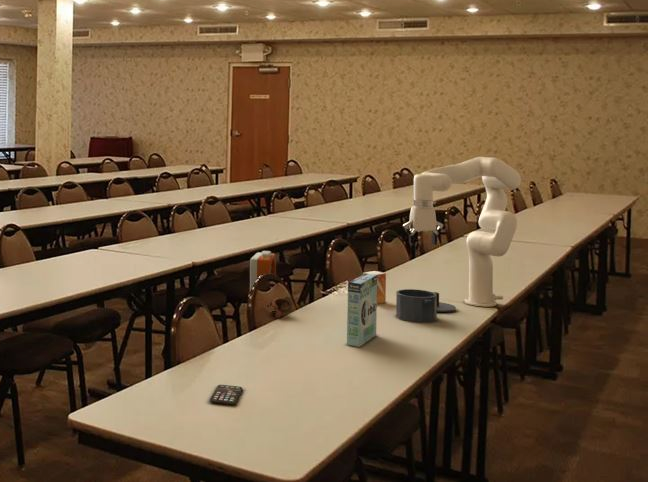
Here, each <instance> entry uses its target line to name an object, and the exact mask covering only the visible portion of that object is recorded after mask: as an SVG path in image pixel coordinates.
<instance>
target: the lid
mask: <svg viewBox="0 0 648 482" xmlns="http://www.w3.org/2000/svg"><path fill="white" fill-rule="evenodd" d="M432 292H433V293H435V294H436V295H437V313H449V312H454V311H456V310H457V306H455V305H453V304H451V303H447V302H441V301H440V293H439V292H437V291H432Z"/></svg>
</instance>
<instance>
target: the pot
mask: <svg viewBox="0 0 648 482" xmlns="http://www.w3.org/2000/svg"><path fill="white" fill-rule="evenodd" d="M433 292H434V291H430V290H423V289H415V288H413V289H412V288H408V289H407V288H404V289H398V290H397V291H396V292H395V295H396V297H395V298H396V299H395V300H396V302H395V304H396V305H395V309H396V310H395V314H396V318H397V319H399V320H402V321H404V322H405V321H406V322H412V323H425V324H426V323H433V322H436V321H437V319H438V317H437V316H438V314H437V313H438V312H437V295H436V294H435V293H433Z"/></svg>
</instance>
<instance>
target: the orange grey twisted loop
mask: <svg viewBox="0 0 648 482" xmlns="http://www.w3.org/2000/svg"><path fill="white" fill-rule="evenodd" d="M270 301H271V303H270V306H271V305H272V307H273V308H274V310H275V311H272V312H270V313H271V314H274V313H275V314H274V316H275V318H276V319H279V318H281V317H284V316H287V315H289V314H290V313H291V312H292V311H293V307H292V303H291V301H290V300H289V299H287V298H284V297H276V298H274V300H270ZM272 301H273V302H272ZM285 303H286V304H287V305H288V307H286V308H285V307H283V306H282V305H283V304H285Z"/></svg>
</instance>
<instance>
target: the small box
mask: <svg viewBox="0 0 648 482" xmlns="http://www.w3.org/2000/svg"><path fill="white" fill-rule="evenodd" d="M365 273H367V274H375V275H377V305H378V304H384V303H385V304H386V302H387V301H386V297H387V296H386V295H387V294H386V293H387V291H386V289H387V286H386V285H387V273H386V272H383V271H377V270H373V271H366V272H363V273H362V275H363V274H365Z"/></svg>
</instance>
